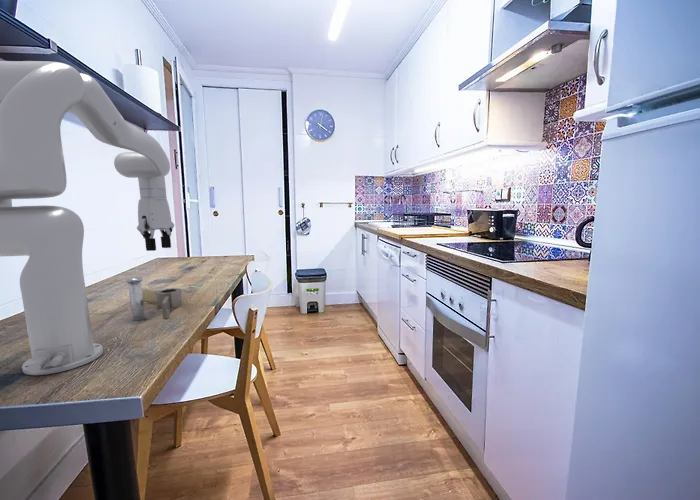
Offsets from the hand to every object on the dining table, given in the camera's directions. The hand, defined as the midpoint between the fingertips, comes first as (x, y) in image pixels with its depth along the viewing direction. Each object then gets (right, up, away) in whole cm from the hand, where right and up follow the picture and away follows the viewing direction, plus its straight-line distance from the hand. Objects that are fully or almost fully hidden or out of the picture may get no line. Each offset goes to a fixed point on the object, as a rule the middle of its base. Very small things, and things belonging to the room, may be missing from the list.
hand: (159, 248), depth 111 cm
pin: (+5, -20, -18) cm, 27 cm away
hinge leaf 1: (-1, -18, -2) cm, 18 cm away
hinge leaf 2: (+9, -19, -10) cm, 23 cm away
